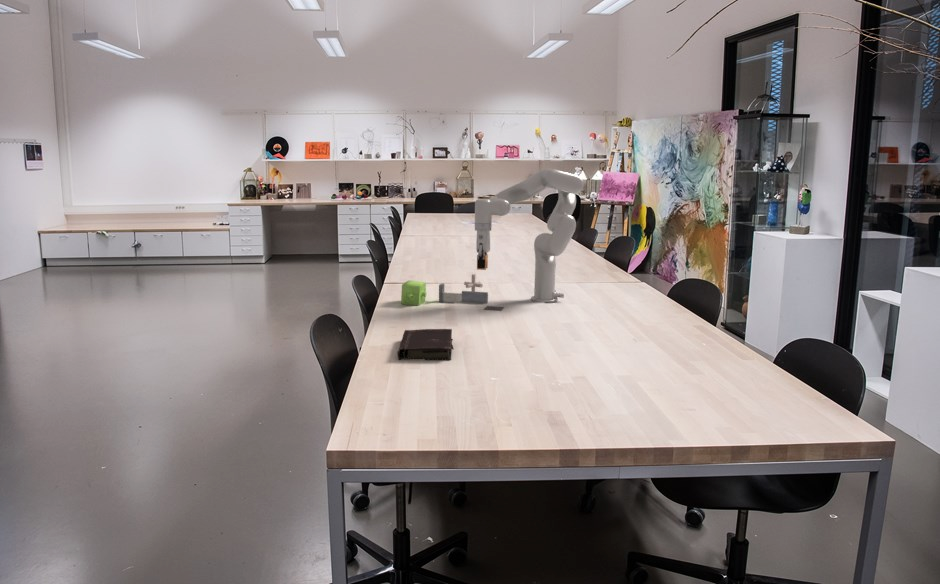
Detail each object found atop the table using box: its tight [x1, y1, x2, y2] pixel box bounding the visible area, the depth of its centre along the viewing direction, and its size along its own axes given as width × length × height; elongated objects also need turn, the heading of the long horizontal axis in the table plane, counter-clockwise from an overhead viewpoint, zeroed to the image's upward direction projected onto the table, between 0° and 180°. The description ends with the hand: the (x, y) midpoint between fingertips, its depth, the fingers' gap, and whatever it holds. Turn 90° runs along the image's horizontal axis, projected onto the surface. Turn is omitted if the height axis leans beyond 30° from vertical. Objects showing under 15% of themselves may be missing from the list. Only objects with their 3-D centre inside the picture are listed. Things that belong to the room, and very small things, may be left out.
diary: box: [396, 328, 454, 361], centre depth 246 cm, size 19×25×5 cm
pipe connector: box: [463, 273, 483, 292], centre depth 342 cm, size 10×10×10 cm
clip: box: [476, 253, 489, 271], centre depth 317 cm, size 4×6×6 cm
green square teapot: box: [400, 280, 427, 306], centre depth 321 cm, size 18×10×10 cm, turn 167°
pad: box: [482, 305, 505, 312], centre depth 312 cm, size 8×8×1 cm
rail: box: [438, 283, 489, 304], centre depth 324 cm, size 22×5×8 cm, turn 77°
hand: (482, 266), depth 318 cm, fingers closed on clip, 5 cm apart
